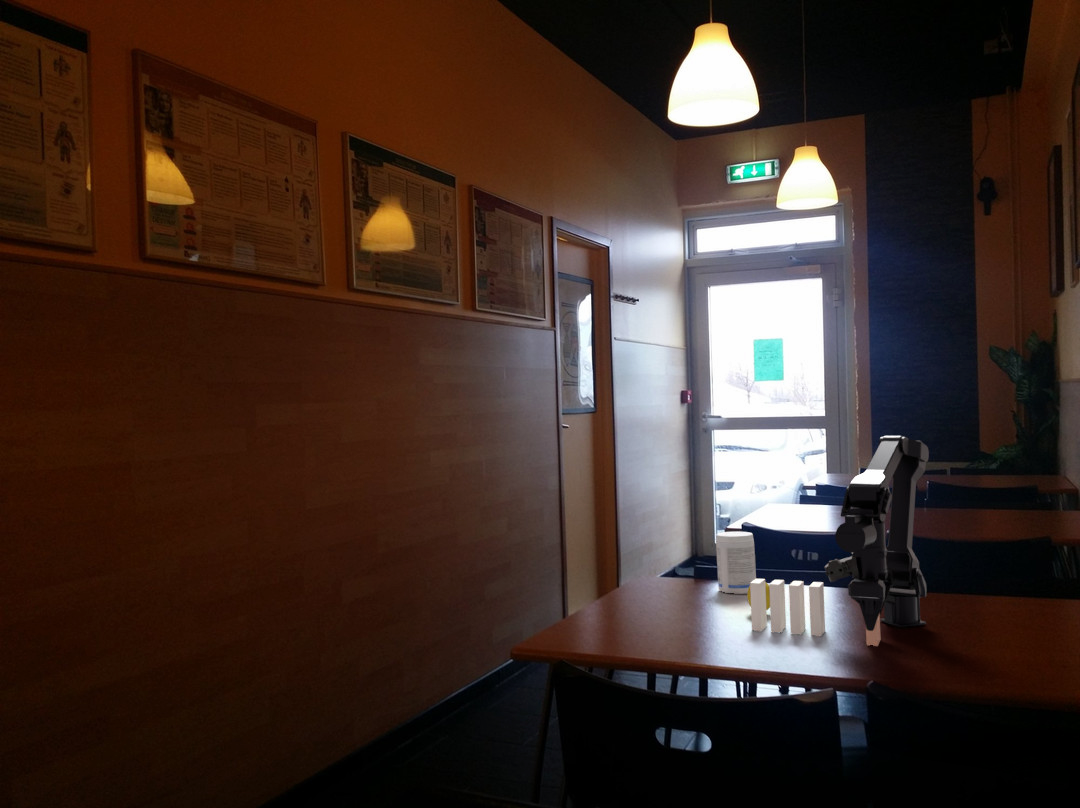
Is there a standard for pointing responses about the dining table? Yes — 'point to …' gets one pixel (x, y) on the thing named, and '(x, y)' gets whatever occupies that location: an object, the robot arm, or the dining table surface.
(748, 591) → the lemon
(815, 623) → the tile
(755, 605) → the tile end
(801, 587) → the tile
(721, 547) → the supplement tub
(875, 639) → the tile
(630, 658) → the dining table surface
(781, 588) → the tile
